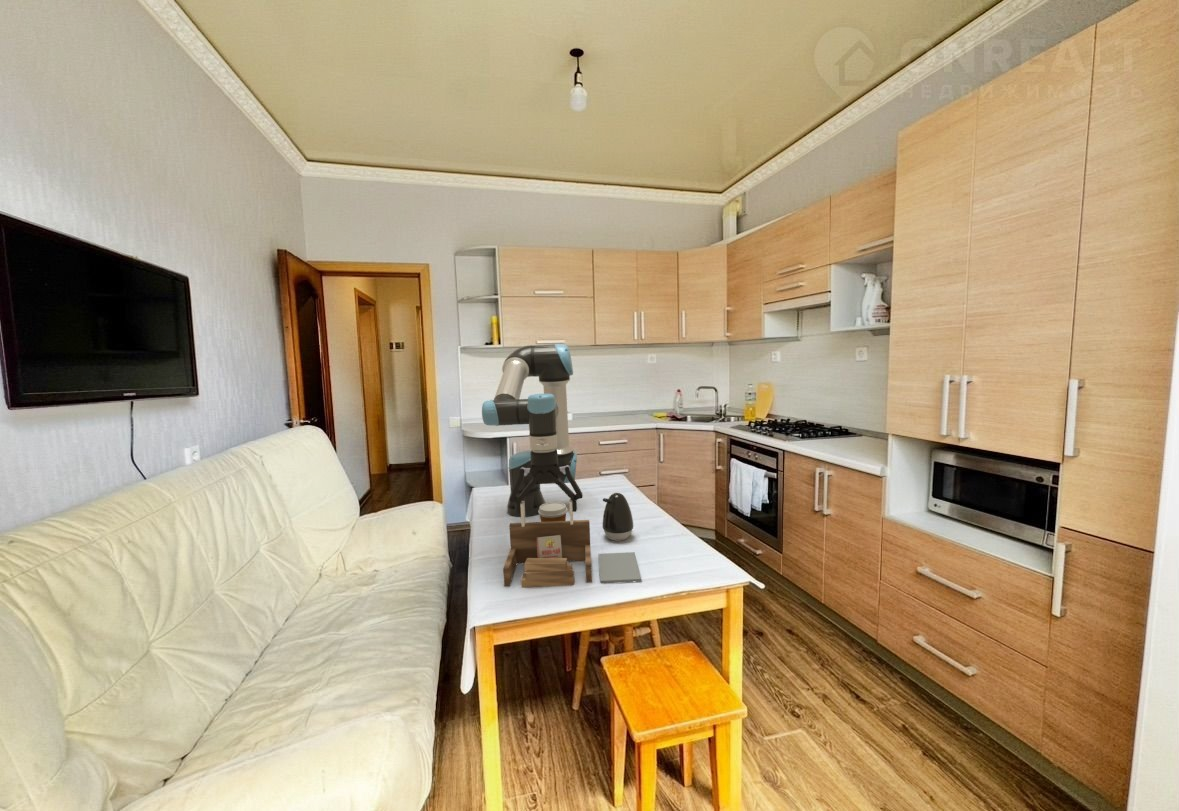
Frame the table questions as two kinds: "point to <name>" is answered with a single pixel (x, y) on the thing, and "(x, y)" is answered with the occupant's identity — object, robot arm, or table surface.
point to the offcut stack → (547, 572)
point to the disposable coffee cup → (552, 512)
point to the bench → (525, 538)
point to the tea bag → (549, 547)
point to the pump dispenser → (617, 517)
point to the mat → (618, 567)
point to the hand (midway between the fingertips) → (547, 523)
